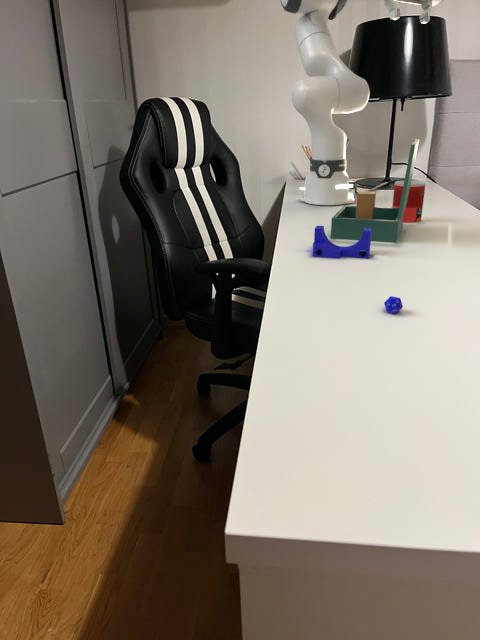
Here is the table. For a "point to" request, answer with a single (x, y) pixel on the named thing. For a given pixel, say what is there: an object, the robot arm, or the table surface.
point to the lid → (408, 178)
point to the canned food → (410, 200)
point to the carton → (365, 205)
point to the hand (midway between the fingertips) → (410, 20)
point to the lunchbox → (367, 224)
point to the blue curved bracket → (337, 251)
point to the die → (393, 305)
